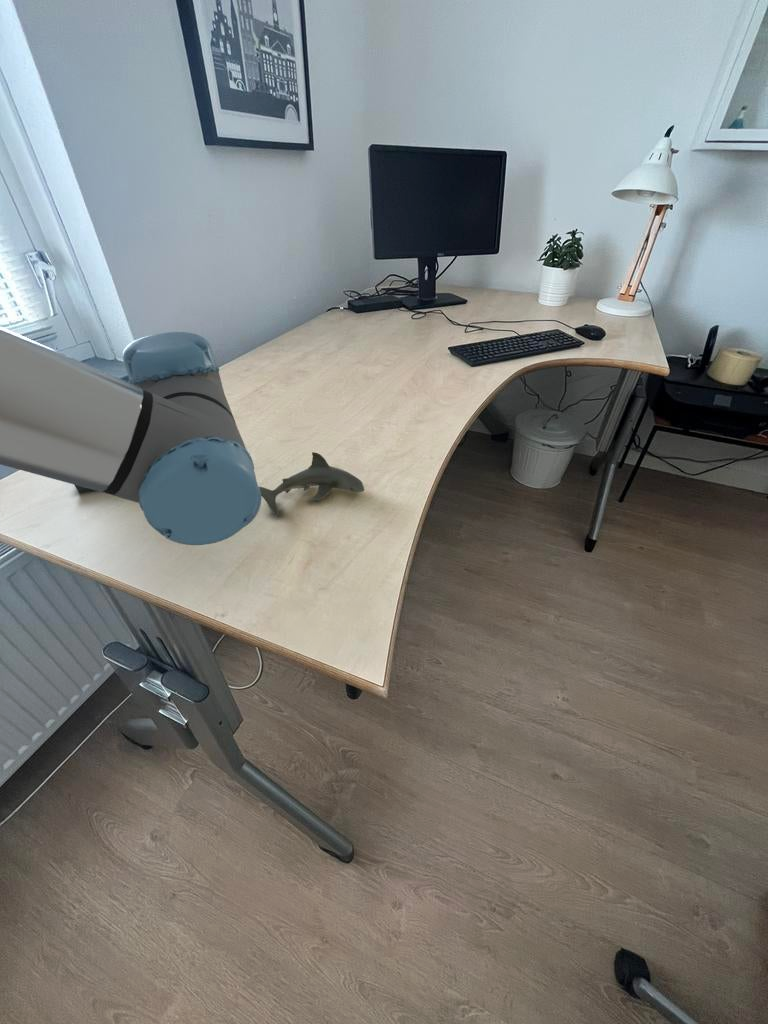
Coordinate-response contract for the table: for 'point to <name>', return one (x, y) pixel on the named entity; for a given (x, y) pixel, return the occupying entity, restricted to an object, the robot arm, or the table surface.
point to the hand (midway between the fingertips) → (136, 393)
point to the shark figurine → (314, 482)
